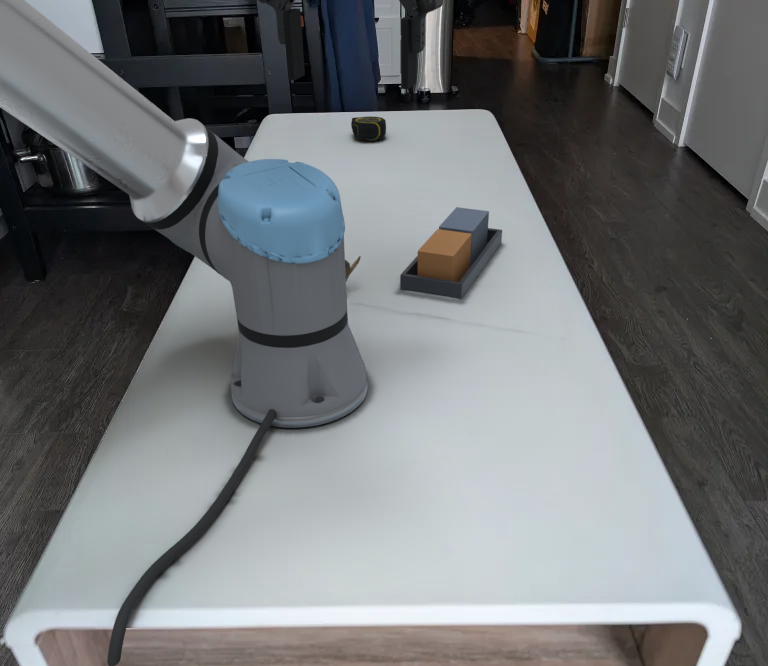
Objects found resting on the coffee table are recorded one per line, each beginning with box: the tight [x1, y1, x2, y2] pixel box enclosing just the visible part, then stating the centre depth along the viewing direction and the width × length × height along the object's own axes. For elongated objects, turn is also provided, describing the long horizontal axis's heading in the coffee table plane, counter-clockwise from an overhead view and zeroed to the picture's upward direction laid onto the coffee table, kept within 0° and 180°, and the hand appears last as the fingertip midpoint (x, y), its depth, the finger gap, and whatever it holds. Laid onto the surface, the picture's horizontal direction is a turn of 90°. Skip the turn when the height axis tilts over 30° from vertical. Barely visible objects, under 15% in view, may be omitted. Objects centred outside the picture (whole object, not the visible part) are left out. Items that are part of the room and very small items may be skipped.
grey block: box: [438, 206, 490, 265], centre depth 115 cm, size 8×5×5 cm, turn 158°
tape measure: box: [350, 116, 387, 142], centre depth 161 cm, size 7×7×4 cm
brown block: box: [417, 228, 472, 282], centre depth 109 cm, size 8×5×5 cm, turn 158°
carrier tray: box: [399, 227, 503, 300], centre depth 113 cm, size 20×9×2 cm, turn 158°
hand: (351, 82), depth 89 cm, fingers open, 13 cm apart
